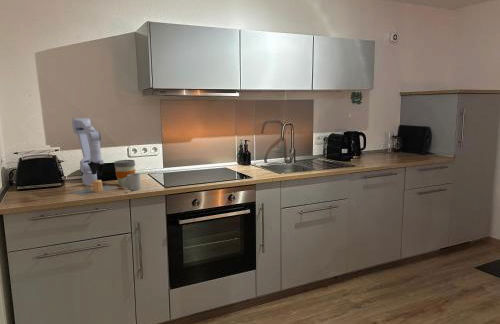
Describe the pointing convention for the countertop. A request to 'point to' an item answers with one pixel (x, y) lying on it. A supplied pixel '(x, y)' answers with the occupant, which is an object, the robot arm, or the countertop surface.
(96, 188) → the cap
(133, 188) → the cup
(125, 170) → the reusable coffee cup
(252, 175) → the countertop surface
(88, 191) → the board
